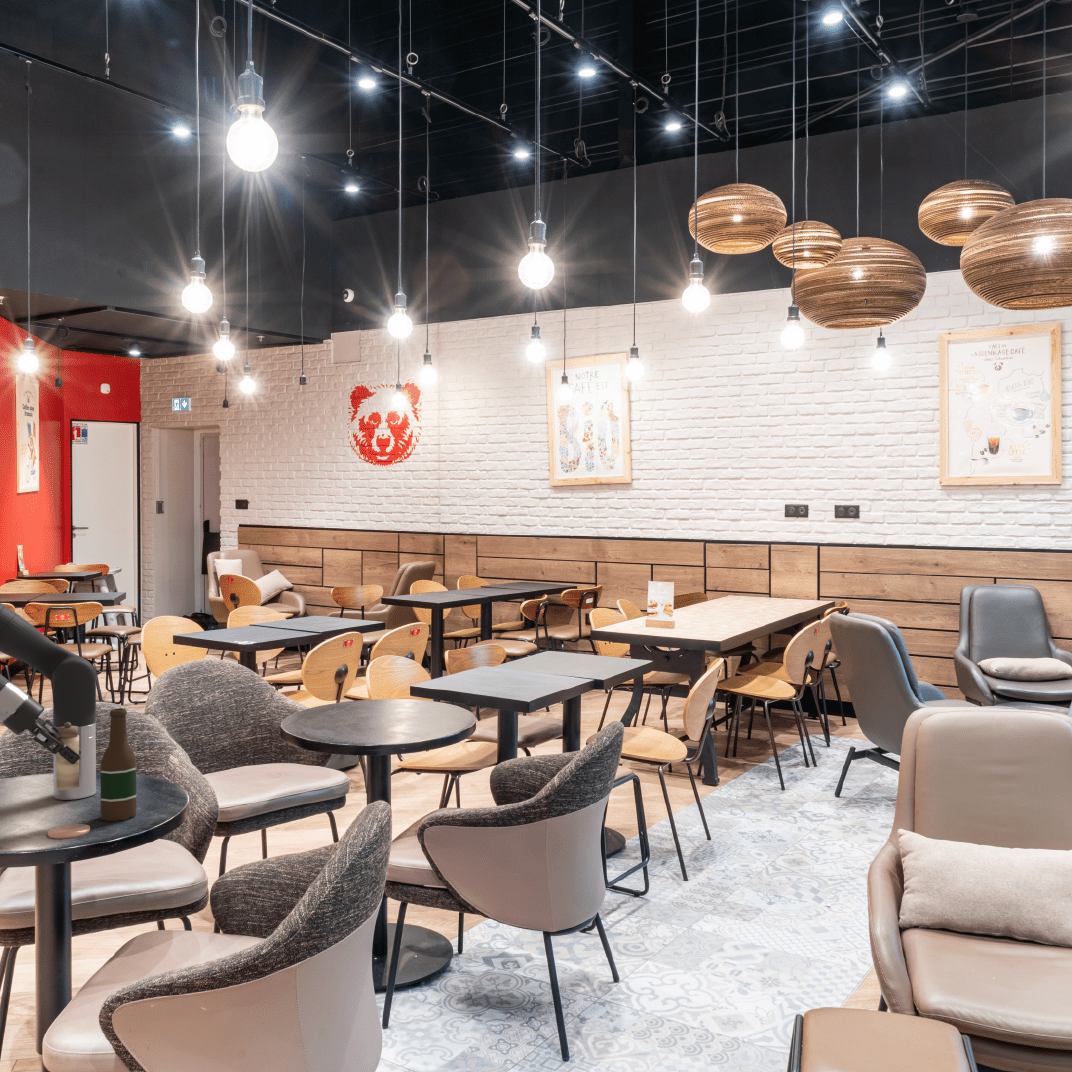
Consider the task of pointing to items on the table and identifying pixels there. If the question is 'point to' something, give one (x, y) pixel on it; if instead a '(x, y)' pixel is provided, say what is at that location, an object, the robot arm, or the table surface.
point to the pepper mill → (65, 769)
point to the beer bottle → (118, 772)
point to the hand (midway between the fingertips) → (77, 758)
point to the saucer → (68, 831)
